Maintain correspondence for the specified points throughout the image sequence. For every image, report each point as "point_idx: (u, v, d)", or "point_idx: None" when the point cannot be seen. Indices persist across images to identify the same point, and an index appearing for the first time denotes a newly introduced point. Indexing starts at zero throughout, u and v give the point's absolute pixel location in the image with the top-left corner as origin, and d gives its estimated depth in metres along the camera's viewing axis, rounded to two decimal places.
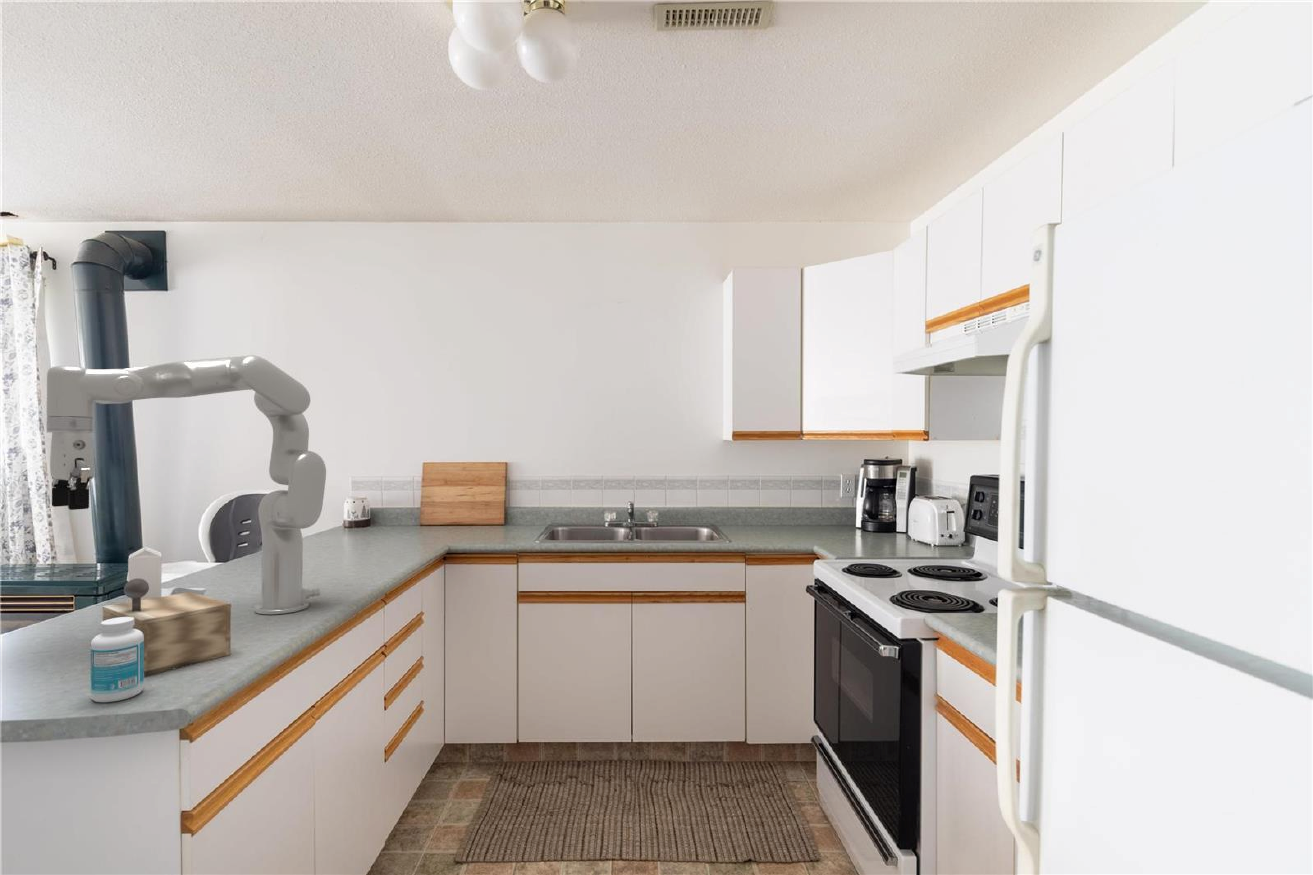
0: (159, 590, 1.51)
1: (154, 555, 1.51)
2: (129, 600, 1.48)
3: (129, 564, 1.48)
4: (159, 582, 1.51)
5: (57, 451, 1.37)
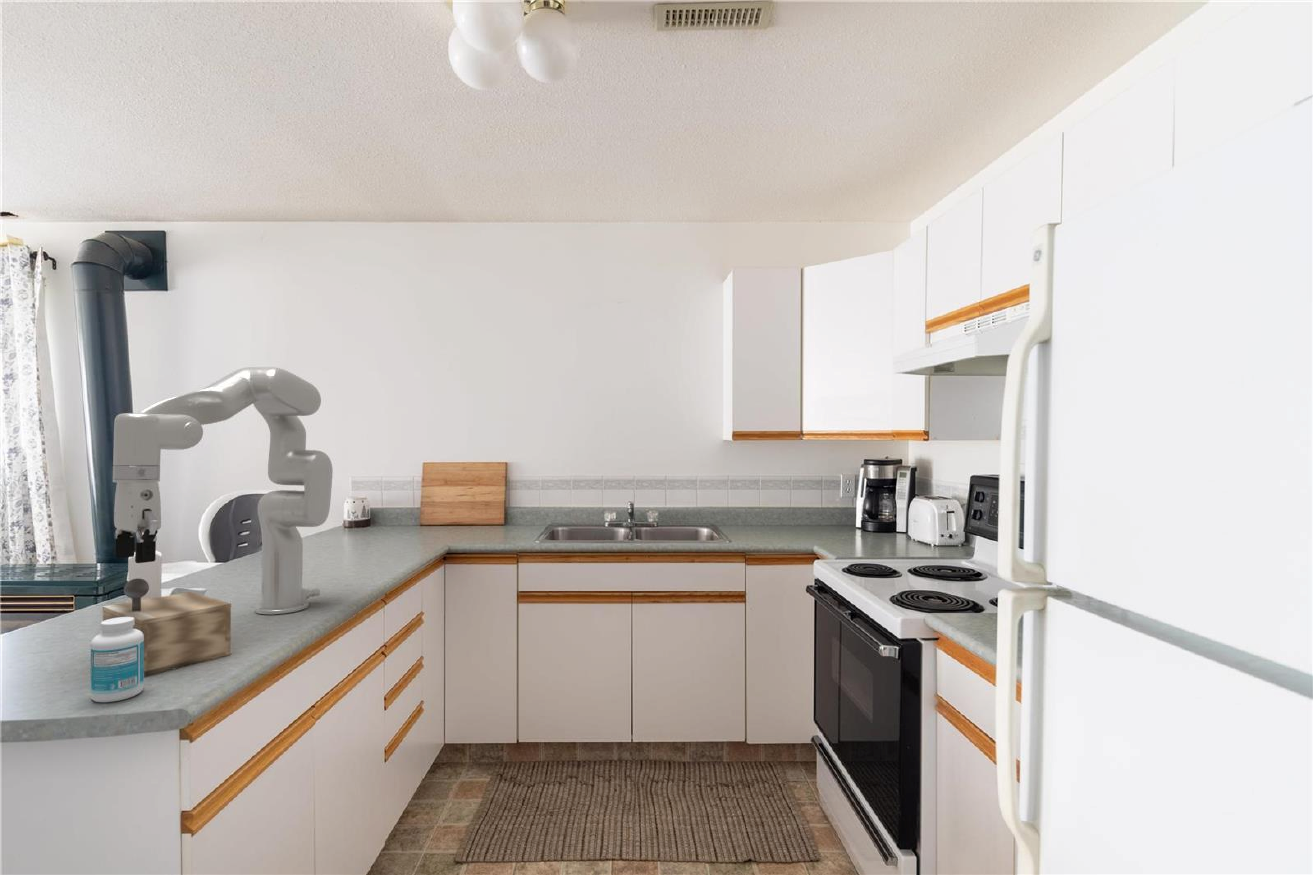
0: (159, 590, 1.51)
1: None
2: (129, 600, 1.48)
3: (129, 564, 1.48)
4: (159, 582, 1.51)
5: (124, 502, 1.32)
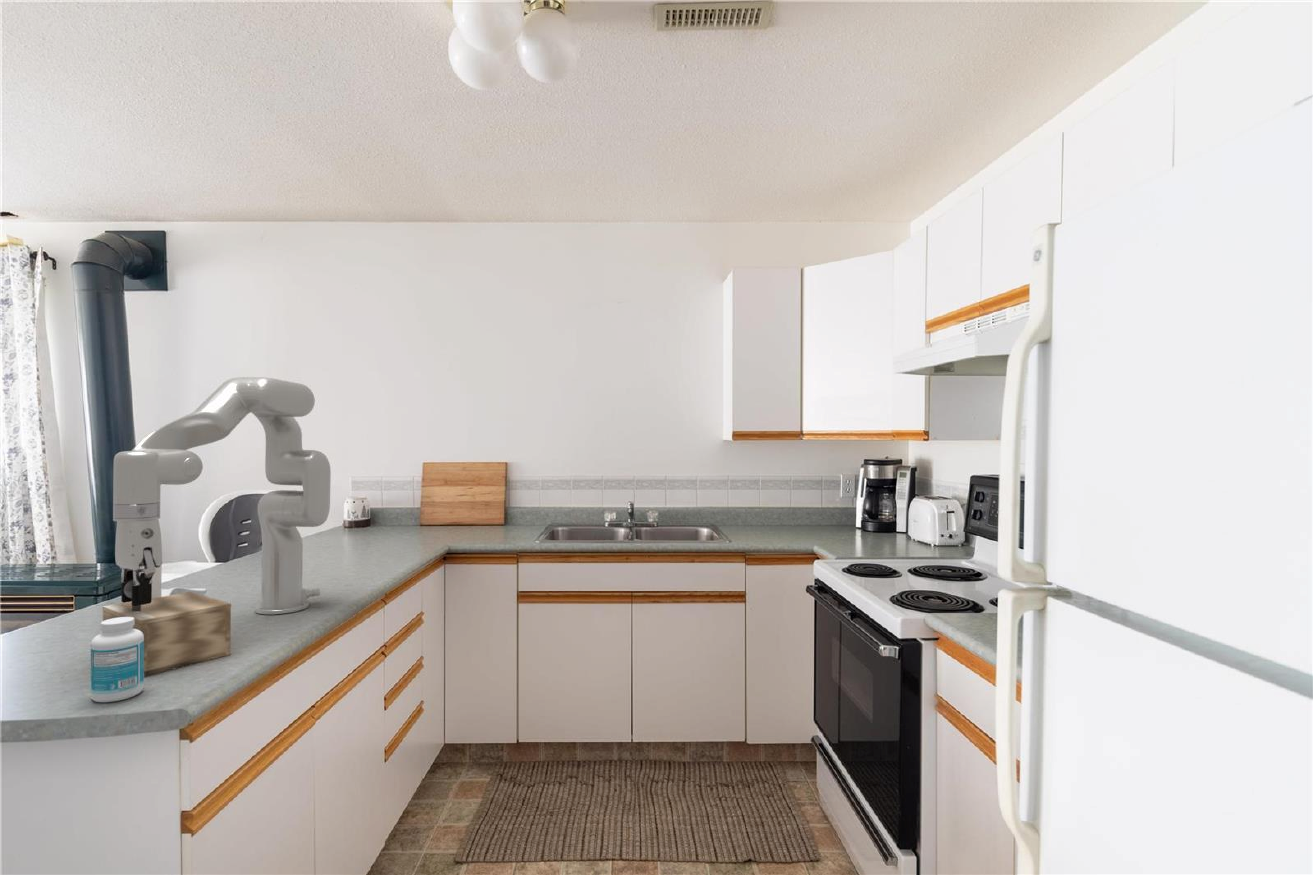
0: (159, 590, 1.51)
1: None
2: None
3: None
4: (159, 582, 1.51)
5: (124, 540, 1.32)
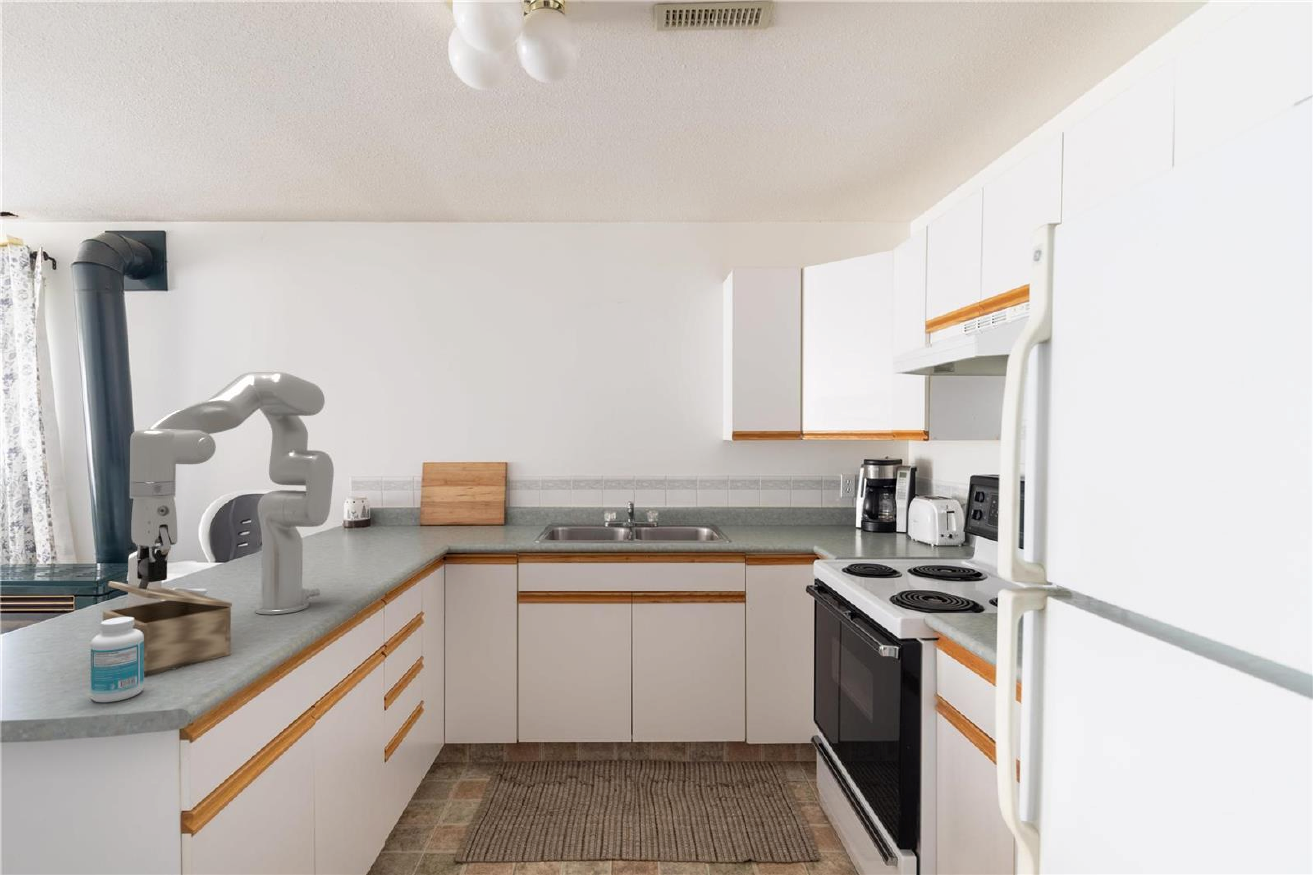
0: None
1: None
2: (129, 600, 1.48)
3: (129, 564, 1.48)
4: (159, 582, 1.51)
5: (141, 517, 1.34)
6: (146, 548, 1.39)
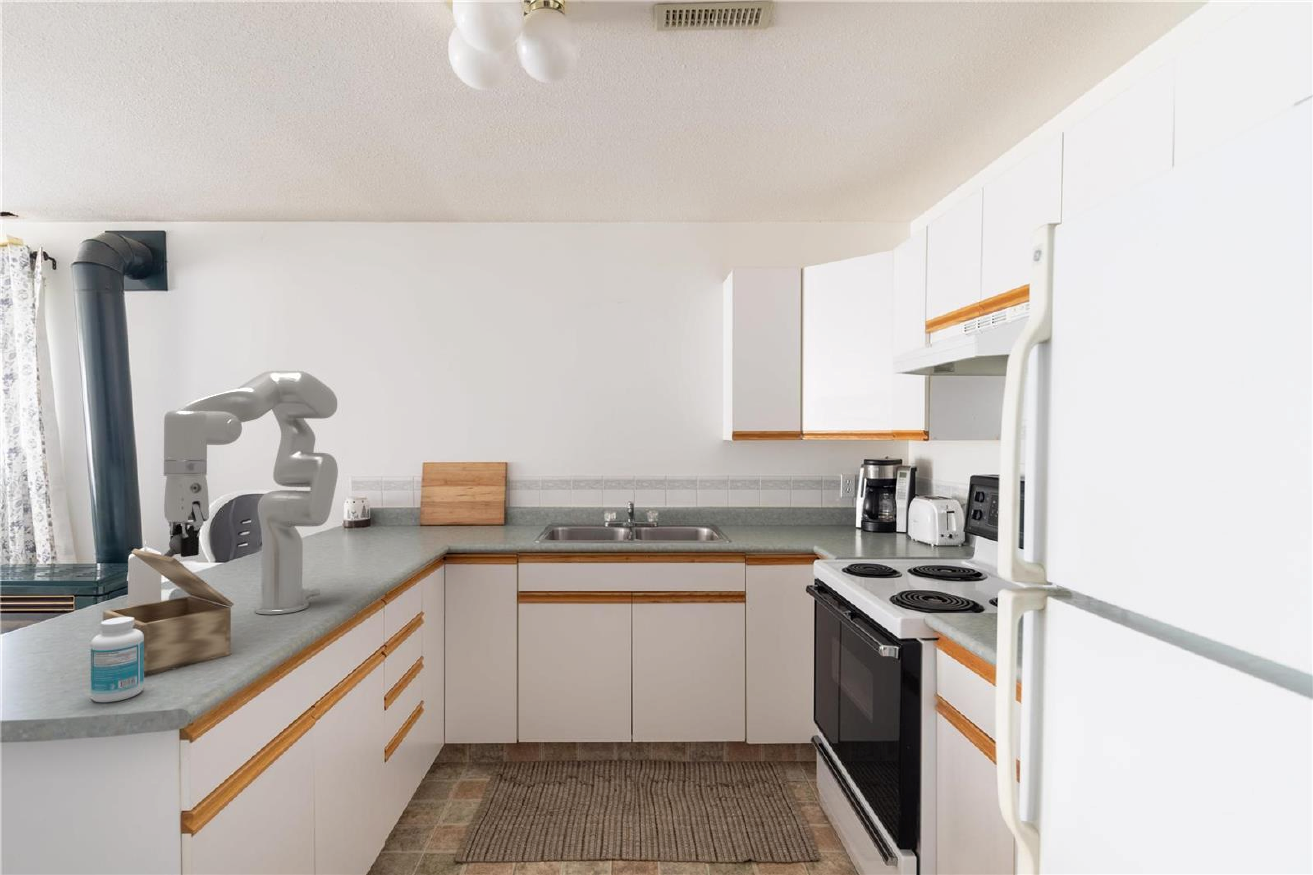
0: (159, 590, 1.51)
1: None
2: (129, 600, 1.48)
3: (129, 564, 1.48)
4: (159, 582, 1.51)
5: (174, 494, 1.39)
6: (178, 525, 1.44)
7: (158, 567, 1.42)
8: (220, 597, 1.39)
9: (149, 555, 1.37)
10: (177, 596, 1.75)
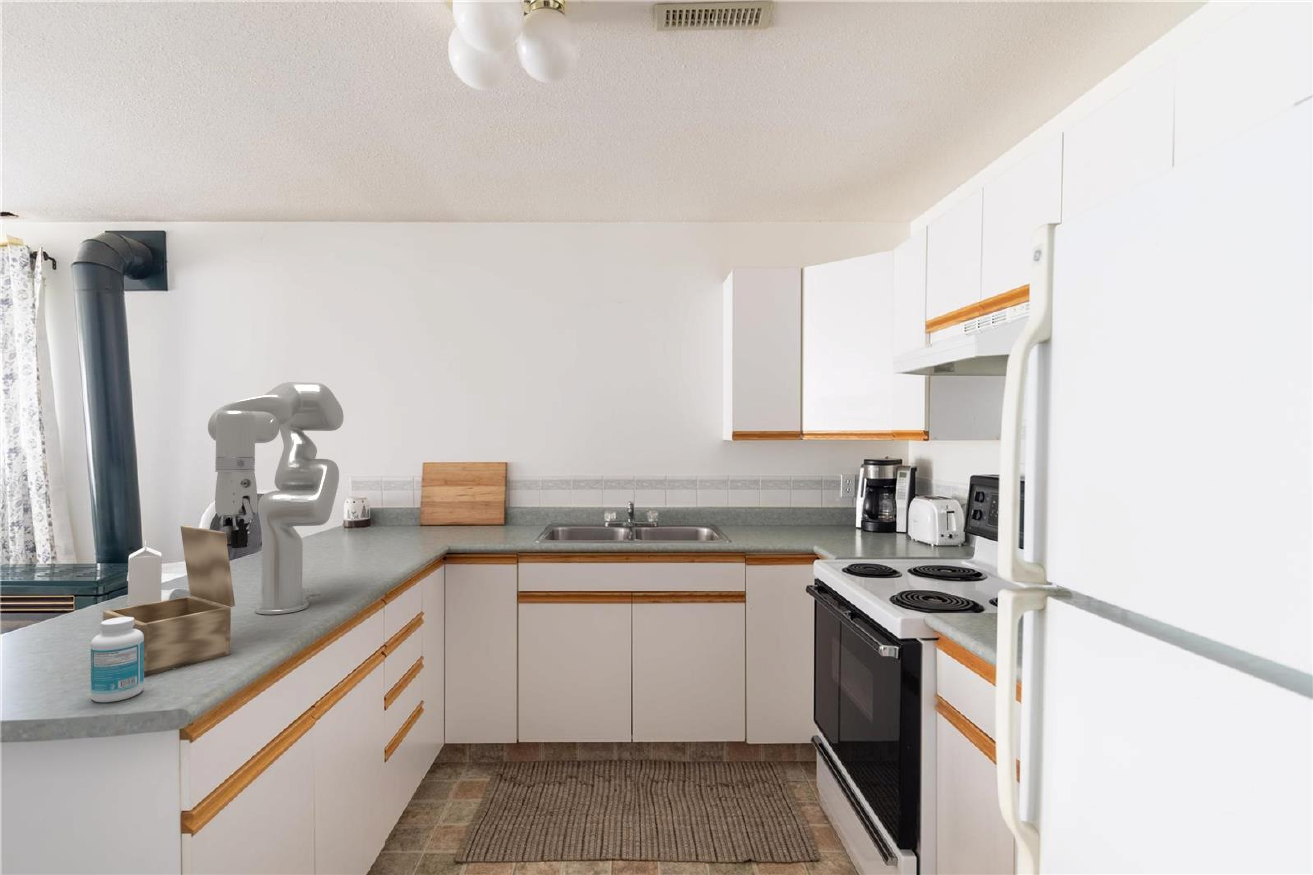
0: (159, 590, 1.51)
1: (154, 555, 1.51)
2: (129, 600, 1.48)
3: (129, 564, 1.48)
4: (159, 582, 1.51)
5: (225, 489, 1.48)
6: (228, 518, 1.52)
7: (193, 548, 1.47)
8: (230, 592, 1.41)
9: (199, 529, 1.45)
10: (178, 596, 1.74)
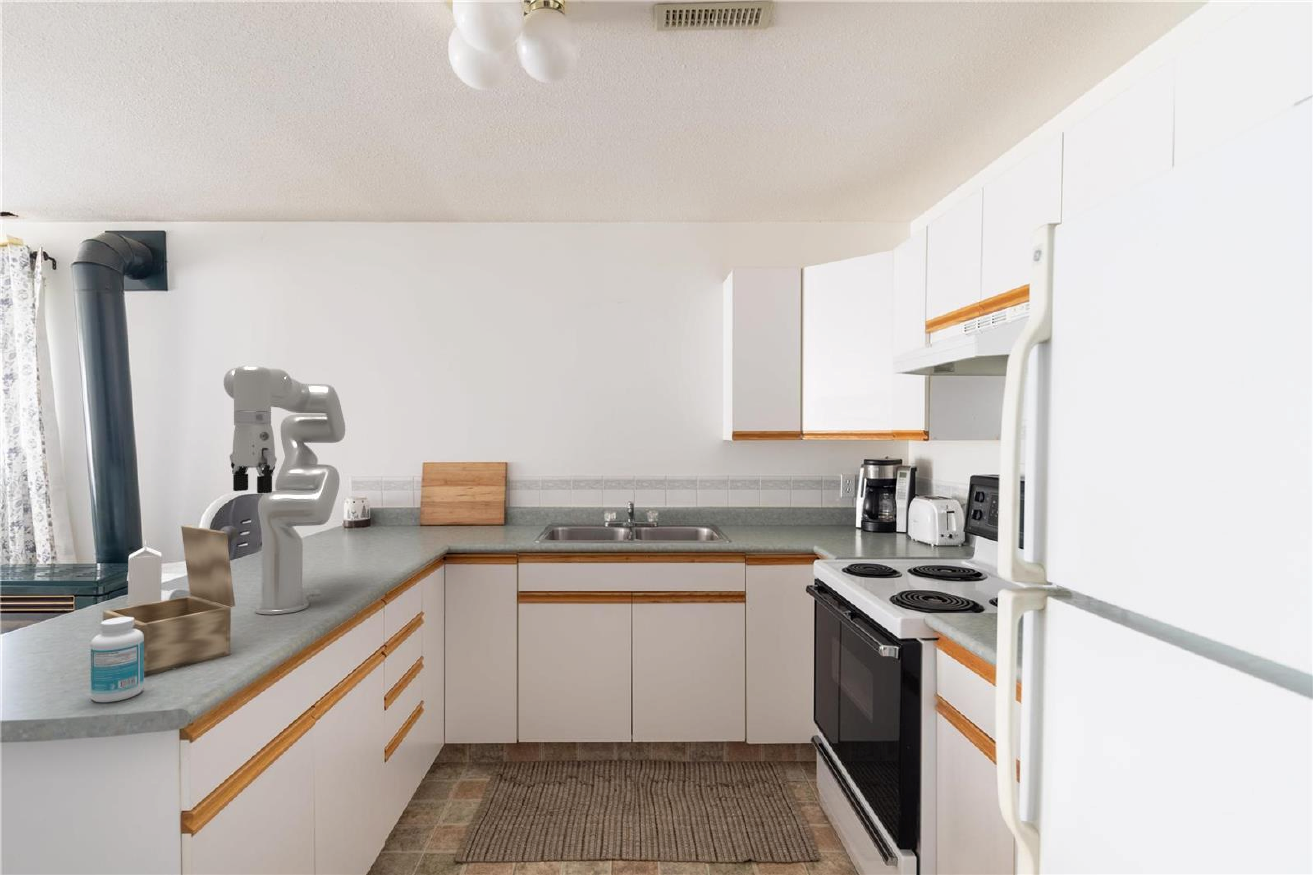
0: (159, 590, 1.51)
1: (154, 555, 1.51)
2: (129, 600, 1.48)
3: (129, 564, 1.48)
4: (159, 582, 1.51)
5: (244, 442, 1.54)
6: None
7: (194, 547, 1.47)
8: (230, 592, 1.41)
9: (200, 529, 1.45)
10: (178, 597, 1.74)
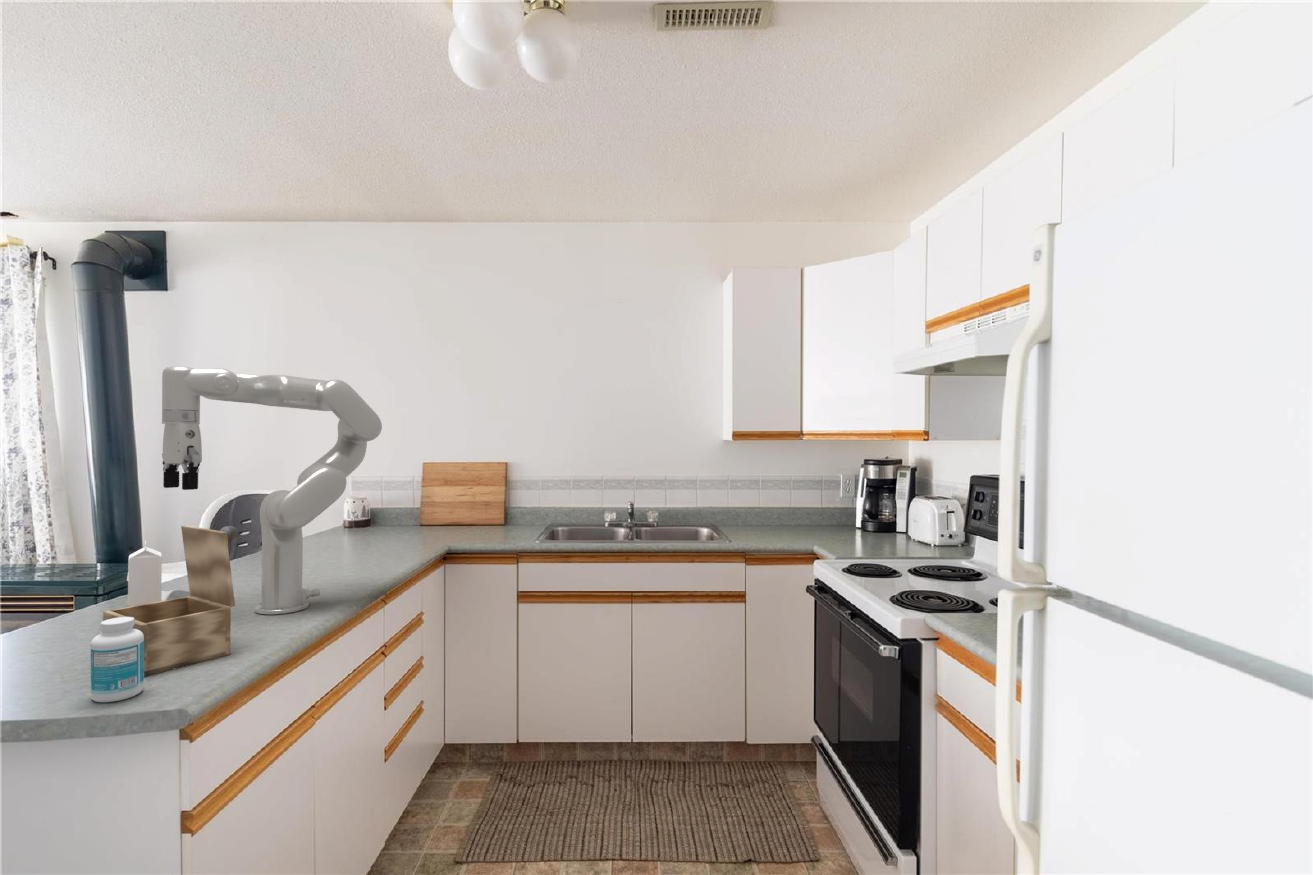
0: (159, 590, 1.51)
1: (154, 555, 1.51)
2: (129, 600, 1.48)
3: (129, 564, 1.48)
4: (159, 582, 1.51)
5: (171, 439, 1.59)
6: (170, 464, 1.66)
7: (194, 547, 1.47)
8: (230, 592, 1.41)
9: (200, 529, 1.45)
10: (178, 597, 1.73)
